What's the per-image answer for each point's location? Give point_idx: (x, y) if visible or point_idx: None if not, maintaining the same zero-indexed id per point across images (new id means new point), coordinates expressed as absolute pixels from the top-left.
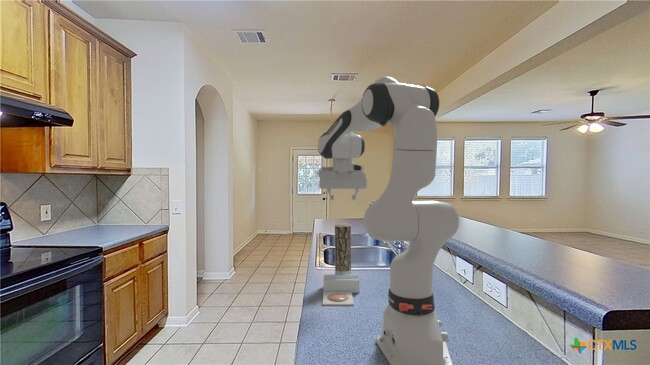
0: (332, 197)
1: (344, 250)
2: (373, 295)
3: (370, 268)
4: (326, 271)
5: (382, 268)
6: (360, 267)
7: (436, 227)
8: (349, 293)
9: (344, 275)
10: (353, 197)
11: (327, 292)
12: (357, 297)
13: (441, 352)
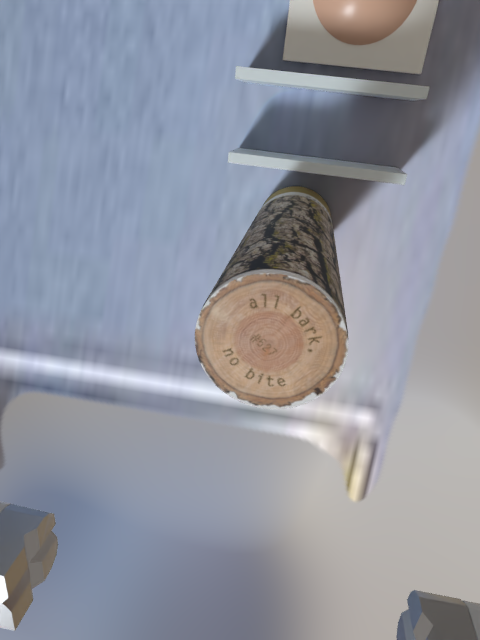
0: (449, 632)
1: (284, 218)
2: (188, 31)
3: (148, 379)
4: None
5: (101, 371)
6: (187, 397)
7: None
8: (296, 44)
9: (298, 160)
10: (11, 532)
11: (401, 67)
12: (265, 8)
13: None
